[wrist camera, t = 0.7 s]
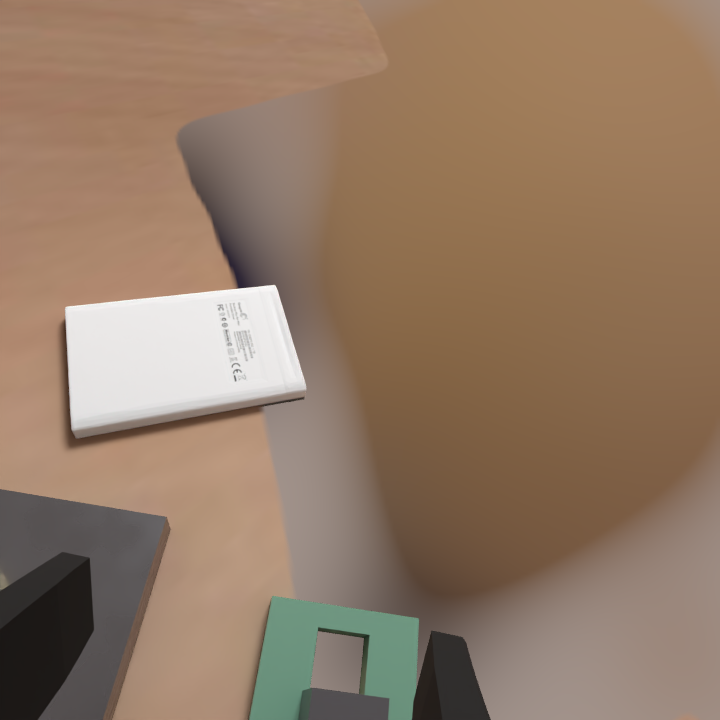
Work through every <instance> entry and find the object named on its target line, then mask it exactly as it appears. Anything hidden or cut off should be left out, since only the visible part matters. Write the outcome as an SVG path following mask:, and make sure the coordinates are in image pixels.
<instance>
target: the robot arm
mask: <svg viewBox="0 0 720 720" xmlns="http://www.w3.org/2000/svg"><path fill="white" fill-rule="evenodd" d="M93 631H94V619H93V602H92V586H91V569H90V558H89V557H84V556H79V555H75V554H70V553H65V552H61V553H60V554H58V555H57V556H55V557H53V558H52V559H50V560H48V561H47V562H45V563H44V564H42V565H40V566H39V567H37V568H36V569H34V570H32V571H31V572H29V573H28V574H26V575H25V576H23V577H21V578H20V579H18V580H17V581H15V582H13V583H12V584H10V585H9V586H7V587H5V588H4V589H2V590H1V591H0V720H38V719H39V717H40V716H41V715H42V713H43V712H44V710H45V709H46V708H47V706H48V705H49V703H50V702H51V700H52V699H53V698H54V696H55V695H56V693H57V692H58V691H59V689H60V688H61V686H62V685H63V683H64V682H65V680H66V679H67V677H68V675H69V674H70V672H71V670H72V669H73V667H74V665H75V663H76V662H77V660H78V658H79V657H80V655H81V653H82V651H83V649H84V647H85V646H86V644H87V642H88V640H89V638H90V637H91V635H92V633H93ZM412 720H491V719H490V717H489V714H488V711H487V709H486V705H485V703H484V700H483V697H482V694H481V691H480V688H479V685H478V682H477V679H476V676H475V672H474V669H473V666H472V662H471V659H470V655H469V652H468V648H467V644H466V642H465V640H464V639H463V638H462V637H459V636H455V635H450V634H445V633H441V632H436V631H431V635H430V639H429V643H428V646H427V651H426V654H425V658H424V662H423V666H422V670H421V674H420V678H419V681H418V686H417V689H416V693H415V697H414V701H413V713H412Z"/></svg>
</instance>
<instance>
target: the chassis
mask: <svg viewBox="0 0 720 720" xmlns="http://www.w3.org/2000/svg"><path fill="white" fill-rule="evenodd" d="M169 532H170V526H169V523H168V520H167V517H163V516H157V515H151V514H145V513H139V512H133V511H127V510H121V509H115V508H109V507H103V506H97V505H91V504H85V503H79V502H73V501H67V500H61V499H55V498H49V497H44V496H38V495H32V494H26V493H20V492H14V491H8V490H2V489H0V591H1V590H2V589H4V588H5V587H7V586H9V585H10V584H12V583H13V582H15V581H17V580H18V579H20V578H21V577H23V576H25V575H26V574H28V573H29V572H31V571H32V570H34V569H36V568H37V567H39V566H40V565H42V564H44V563H45V562H47V561H48V560H50V559H52V558H53V557H55V556H57V555H58V554H60V553H61V552H65V553H70V554H75V555H79V556H84V557H89V558H90V569H91V586H92V602H93V619H94V631H93V633H92V635H91V637H90V638H89V640H88V642H87V644H86V646H85V647H84V649H83V651H82V653H81V655H80V657H79V658H78V660H77V662H76V663H75V665H74V667H73V669H72V670H71V672H70V674H69V675H68V677H67V679H66V680H65V682H64V683H63V685H62V686H61V688H60V689H59V691H58V692H57V693H56V695H55V696H54V698H53V699H52V700H51V702H50V703H49V705H48V706H47V708H46V709H45V710H44V712H43V713H42V715H41V716H40V717H39V719H38V720H112V718H113V715H114V711H115V708H116V705H117V702H118V698H119V695H120V692H121V688H122V685H123V682H124V679H125V675H126V672H127V669H128V666H129V662H130V659H131V656H132V653H133V649H134V646H135V643H136V640H137V636H138V633H139V630H140V627H141V623H142V620H143V617H144V614H145V610H146V607H147V604H148V601H149V597H150V594H151V591H152V588H153V584H154V581H155V578H156V575H157V571H158V568H159V565H160V562H161V558H162V555H163V552H164V549H165V545H166V542H167V539H168V536H169Z"/></svg>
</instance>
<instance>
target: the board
mask: <svg viewBox="0 0 720 720" xmlns="http://www.w3.org/2000/svg"><path fill="white" fill-rule="evenodd" d="M418 626H419V619H418V618H412V617H406V616H399V615H393V614H386V613H380V612H373V611H367V610H360V609H354V608H347V607H341V606H334V605H328V604H322V603H315V602H309V601H302V600H296V599H289V598H283V597H276V596H272V598H271V602H270V607H269V613H268V618H267V623H266V629H265V634H264V639H263V645H262V650H261V655H260V661H259V666H258V671H257V677H256V682H255V687H254V693H253V698H252V703H251V709H250V714H249V719H248V720H412V713H413V701H414V697H415V693H416V676H417V651H418ZM318 631H322V632H329V633H335V634H342V635H349V636H355V637H362V638H364V646H363V657H362V668H361V679H360V689H359V694H354V693H347V692H340V691H332V690H324V689H318V688H310V684H311V677H312V668H313V662H314V655H315V647H316V640H317V633H318Z"/></svg>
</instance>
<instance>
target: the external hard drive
mask: <svg viewBox="0 0 720 720" xmlns="http://www.w3.org/2000/svg"><path fill="white" fill-rule="evenodd" d="M65 319H66V339H67V357H68V377H69V396H70V416H71V430H72V432H73V433H74V435H75V438H77V439H78V438H83V437H88V436H94V435H99V434H105V433H110V432H116V431H121V430H126V429H132V428H137V427H143V426H148V425H154V424H159V423H165V422H170V421H176V420H181V419H186V418H192V417H197V416H203V415H208V414H214V413H219V412H225V411H230V410H236V409H241V408H247V407H252V406H258V405H262V407H264V406H269V405H275V404H280V403H285V402H292V401H297V400H304V399H305V395H306V390H307V389H306V384H305V380H304V377H303V374H302V371H301V367H300V364H299V361H298V358H297V354H296V351H295V348H294V344H293V341H292V338H291V334H290V331H289V327H288V324H287V321H286V317H285V314H284V310H283V307H282V304H281V301H280V297H279V294H278V290H277V288H276V286H275V285H271V286H261V287H253V288H242V289H233V290H223V291H212V292H203V293H193V294H184V295H174V296H164V297H155V298H145V299H134V300H125V301H116V302H107V303H98V304H89V305H80V306H69V307H66V308H65Z"/></svg>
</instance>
